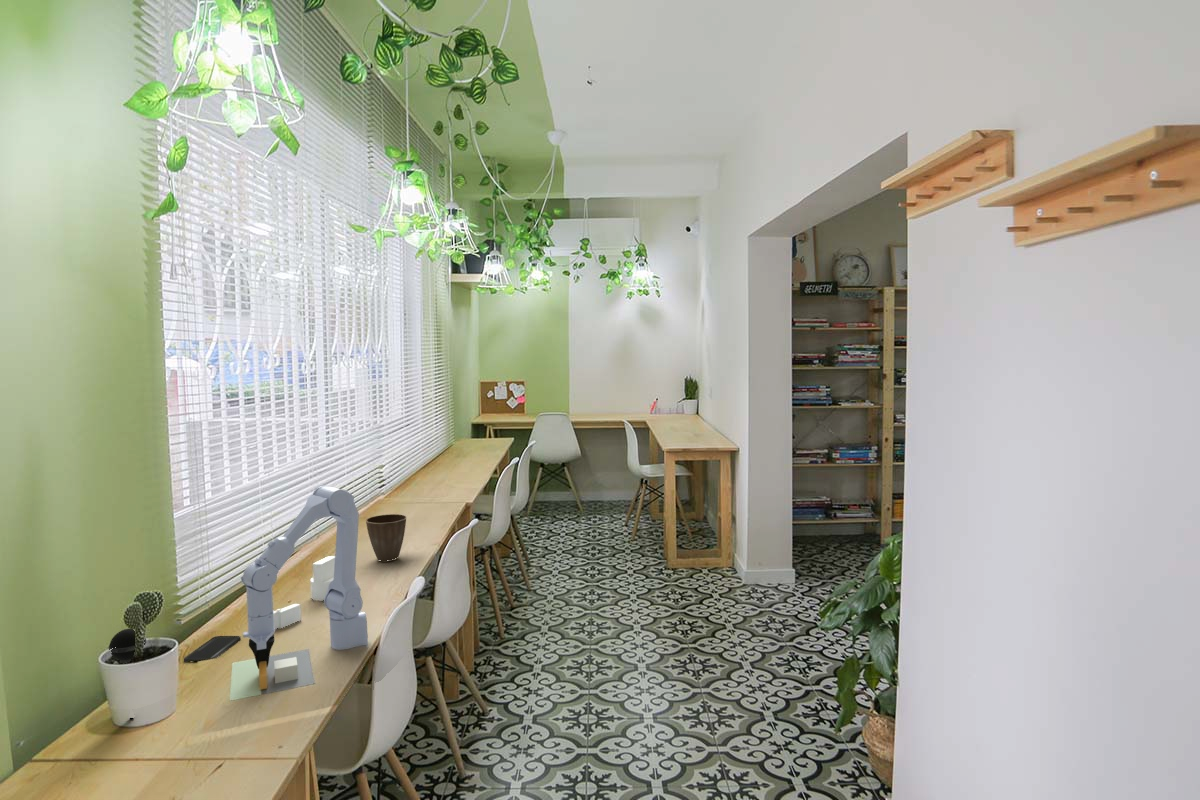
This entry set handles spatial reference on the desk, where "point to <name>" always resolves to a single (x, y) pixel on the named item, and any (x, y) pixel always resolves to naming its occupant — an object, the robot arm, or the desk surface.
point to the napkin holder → (287, 615)
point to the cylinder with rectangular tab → (322, 577)
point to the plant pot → (386, 535)
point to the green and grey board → (268, 676)
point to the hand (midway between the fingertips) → (262, 667)
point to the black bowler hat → (123, 645)
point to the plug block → (286, 670)
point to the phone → (212, 648)
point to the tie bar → (263, 675)
